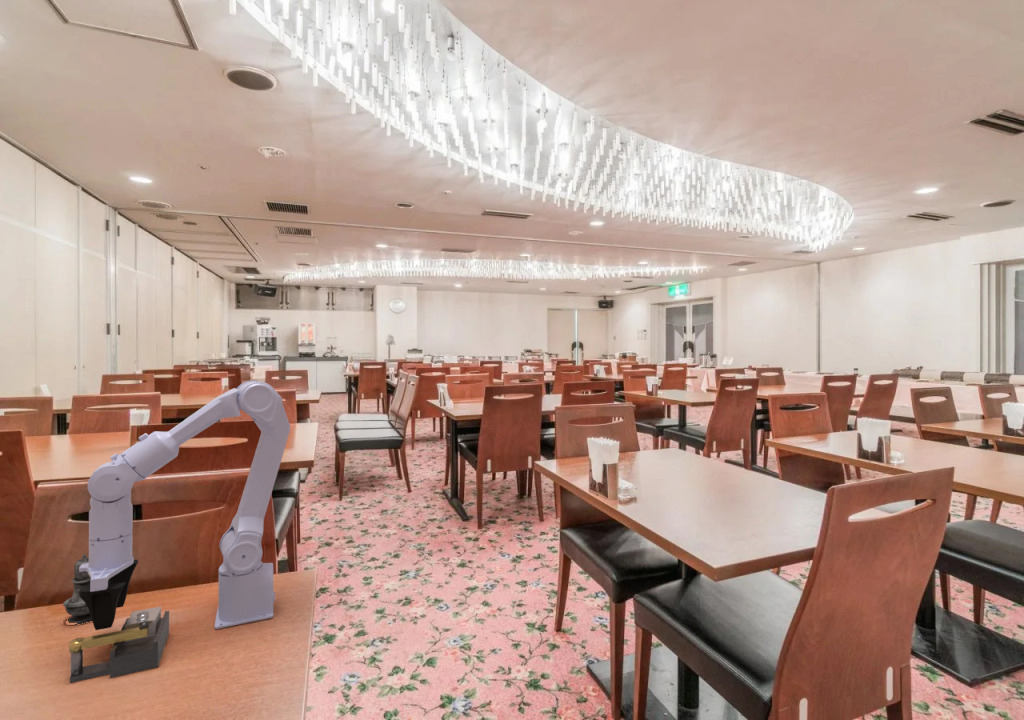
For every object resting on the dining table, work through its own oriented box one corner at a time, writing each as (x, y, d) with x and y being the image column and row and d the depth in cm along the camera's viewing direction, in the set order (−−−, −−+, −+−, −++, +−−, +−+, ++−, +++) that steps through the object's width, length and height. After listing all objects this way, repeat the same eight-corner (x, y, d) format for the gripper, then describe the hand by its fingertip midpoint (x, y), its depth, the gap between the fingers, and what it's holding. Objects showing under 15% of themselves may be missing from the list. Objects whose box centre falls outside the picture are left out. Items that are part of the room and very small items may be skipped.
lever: (149, 631, 81) (149, 619, 81) (147, 637, 79) (147, 624, 79) (71, 647, 76) (71, 634, 76) (67, 653, 75) (67, 639, 75)
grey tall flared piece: (80, 628, 90) (80, 561, 90) (54, 624, 91) (54, 558, 91) (112, 612, 96) (112, 549, 96) (87, 609, 97) (87, 546, 97)
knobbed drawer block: (160, 621, 86) (160, 602, 86) (155, 635, 82) (155, 615, 82) (132, 627, 85) (132, 608, 85) (125, 641, 80) (125, 621, 80)
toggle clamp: (169, 633, 88) (169, 610, 88) (157, 667, 78) (157, 641, 78) (87, 649, 83) (88, 625, 83) (65, 688, 73) (65, 660, 73)
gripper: (93, 526, 89) (92, 603, 88) (65, 554, 76) (64, 644, 75) (142, 520, 92) (141, 595, 92) (123, 546, 79) (122, 633, 79)
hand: (110, 617), depth 84 cm, fingers open, 7 cm apart
